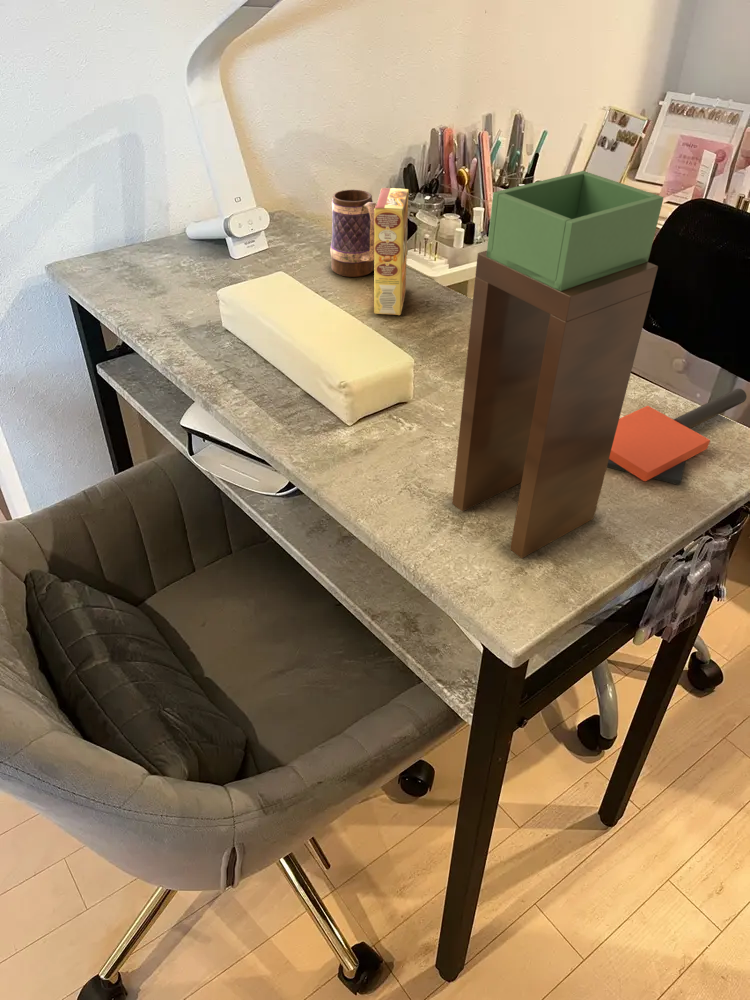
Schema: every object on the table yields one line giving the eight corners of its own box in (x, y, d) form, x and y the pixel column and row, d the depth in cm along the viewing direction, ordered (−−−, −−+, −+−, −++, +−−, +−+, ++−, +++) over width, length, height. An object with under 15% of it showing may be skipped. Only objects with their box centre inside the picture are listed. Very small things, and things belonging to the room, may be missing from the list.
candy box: (401, 316, 111) (405, 208, 101) (372, 314, 111) (373, 207, 101) (406, 291, 118) (410, 188, 108) (378, 289, 118) (380, 186, 108)
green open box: (572, 231, 66) (583, 170, 62) (648, 261, 61) (664, 196, 57) (485, 256, 61) (492, 192, 58) (560, 291, 56) (572, 222, 53)
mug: (323, 265, 125) (321, 189, 117) (361, 257, 128) (361, 183, 120) (353, 288, 118) (353, 209, 110) (392, 280, 121) (395, 202, 113)
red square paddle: (707, 386, 96) (711, 374, 95) (769, 418, 91) (774, 404, 90) (582, 445, 86) (585, 431, 85) (644, 484, 80) (648, 470, 79)
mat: (689, 441, 87) (690, 436, 87) (679, 485, 81) (681, 480, 80) (600, 420, 90) (601, 416, 90) (584, 461, 84) (585, 457, 83)
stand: (522, 469, 83) (563, 228, 66) (593, 518, 76) (658, 266, 60) (451, 503, 78) (477, 252, 62) (521, 558, 72) (570, 296, 55)
